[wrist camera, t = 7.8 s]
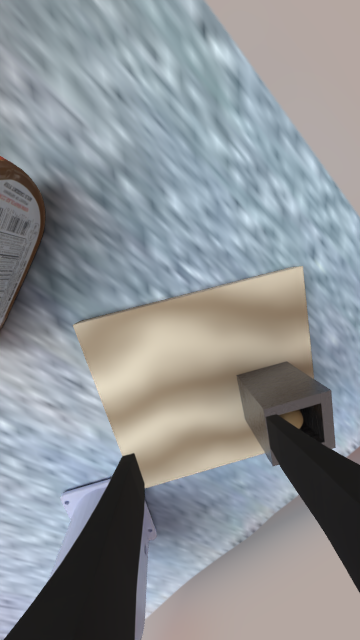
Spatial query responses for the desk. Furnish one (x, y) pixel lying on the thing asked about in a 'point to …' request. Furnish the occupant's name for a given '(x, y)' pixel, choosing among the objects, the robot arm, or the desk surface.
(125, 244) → the desk surface
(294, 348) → the board
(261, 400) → the grey hollow cube
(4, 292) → the tin
